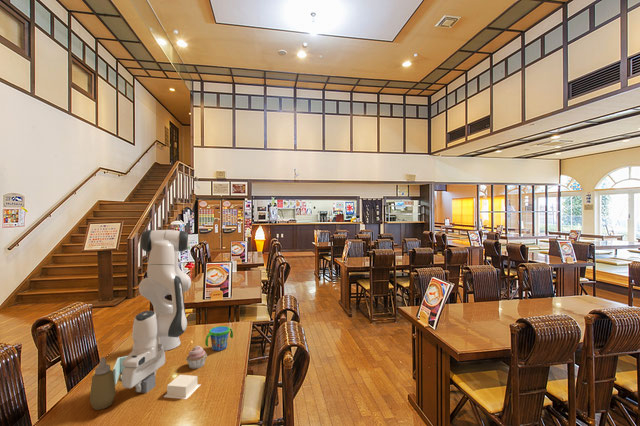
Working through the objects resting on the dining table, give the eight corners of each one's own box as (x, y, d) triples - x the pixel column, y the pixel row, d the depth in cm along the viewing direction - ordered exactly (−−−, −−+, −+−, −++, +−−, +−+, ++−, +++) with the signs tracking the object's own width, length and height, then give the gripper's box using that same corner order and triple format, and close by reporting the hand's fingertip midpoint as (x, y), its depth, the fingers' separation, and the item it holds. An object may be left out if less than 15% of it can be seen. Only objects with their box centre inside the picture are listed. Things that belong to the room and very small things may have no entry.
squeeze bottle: (98, 399, 117) (98, 353, 117) (120, 398, 118) (120, 352, 118) (84, 413, 109) (83, 363, 109) (107, 411, 109) (107, 362, 110)
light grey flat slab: (148, 400, 116) (148, 398, 116) (171, 380, 130) (171, 379, 130) (190, 404, 113) (190, 402, 113) (210, 384, 127) (210, 382, 127)
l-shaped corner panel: (113, 387, 126) (112, 369, 126) (117, 374, 137) (117, 357, 137) (145, 380, 131) (145, 363, 132) (148, 368, 142) (147, 352, 142)
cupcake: (196, 373, 136) (196, 351, 136) (181, 369, 139) (181, 347, 140) (211, 364, 144) (211, 343, 144) (197, 360, 148) (197, 340, 148)
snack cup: (228, 341, 171) (228, 323, 171) (237, 346, 163) (237, 328, 163) (201, 349, 160) (201, 330, 160) (209, 356, 152) (209, 336, 152)
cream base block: (167, 395, 118) (167, 385, 118) (179, 384, 126) (179, 374, 126) (185, 397, 116) (185, 386, 116) (197, 385, 124) (197, 376, 124)
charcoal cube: (135, 393, 121) (135, 381, 121) (144, 386, 125) (144, 374, 126) (146, 394, 120) (146, 382, 120) (155, 387, 125) (155, 375, 125)
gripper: (156, 341, 134) (156, 372, 133) (118, 364, 113) (118, 400, 113) (169, 342, 133) (169, 373, 132) (133, 365, 112) (133, 402, 112)
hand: (145, 386), depth 123 cm, fingers closed on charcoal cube, 5 cm apart
